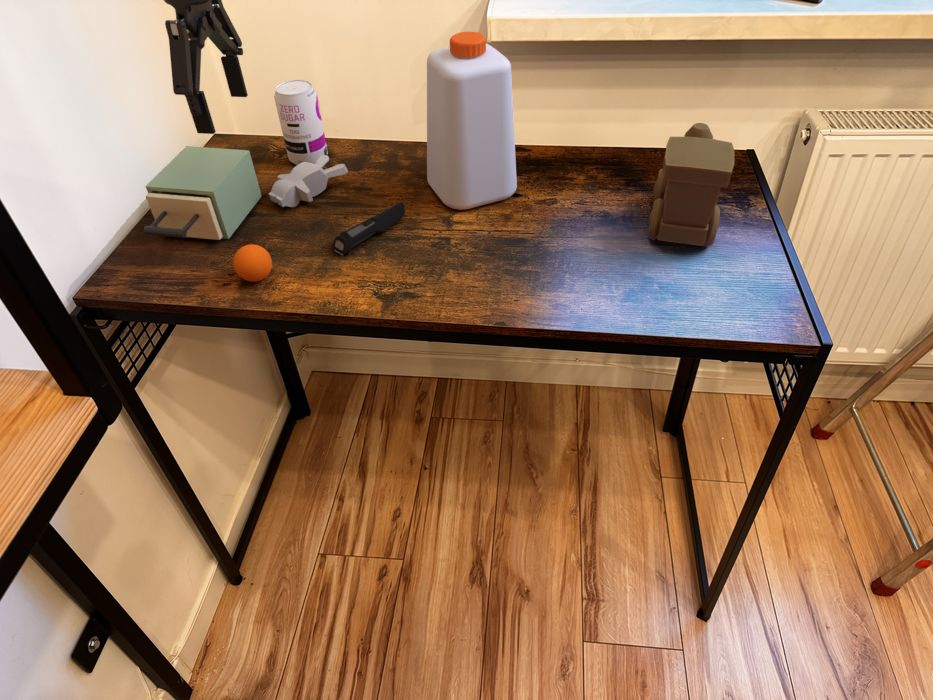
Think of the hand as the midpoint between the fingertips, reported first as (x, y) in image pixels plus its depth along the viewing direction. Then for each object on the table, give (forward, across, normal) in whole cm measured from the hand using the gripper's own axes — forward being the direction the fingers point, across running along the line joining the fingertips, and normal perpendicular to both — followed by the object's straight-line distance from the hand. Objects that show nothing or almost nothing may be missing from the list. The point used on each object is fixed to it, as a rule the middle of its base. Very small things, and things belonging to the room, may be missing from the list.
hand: (223, 113), depth 110 cm
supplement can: (+20, +23, -3) cm, 31 cm away
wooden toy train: (+20, +5, -78) cm, 80 cm away
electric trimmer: (+20, -3, -23) cm, 31 cm away
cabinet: (+20, 0, +8) cm, 22 cm away
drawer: (+19, -5, +8) cm, 21 cm away
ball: (+17, -17, -7) cm, 25 cm away
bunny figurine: (+20, +10, -8) cm, 24 cm away
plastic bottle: (+20, +14, -39) cm, 46 cm away
